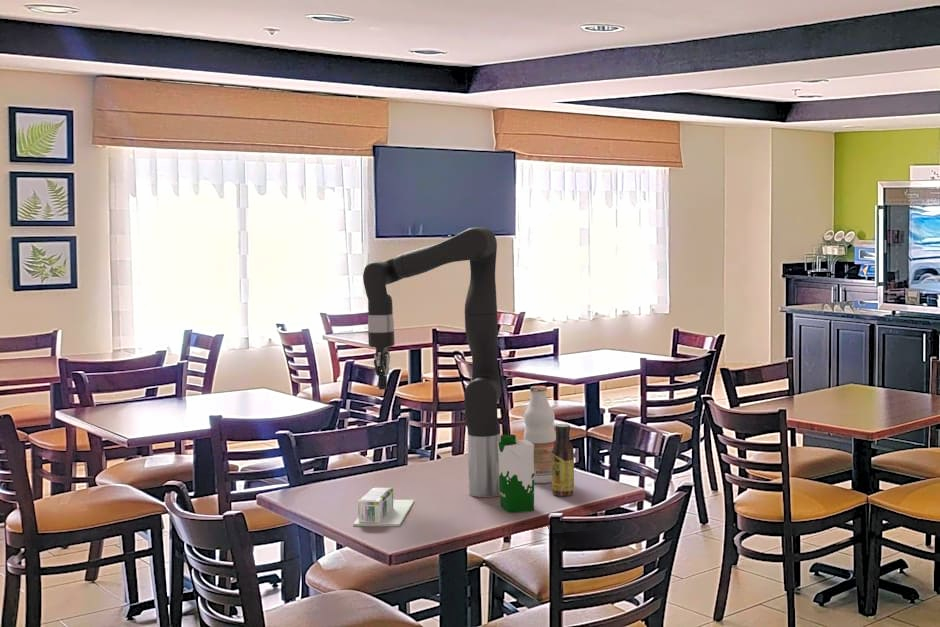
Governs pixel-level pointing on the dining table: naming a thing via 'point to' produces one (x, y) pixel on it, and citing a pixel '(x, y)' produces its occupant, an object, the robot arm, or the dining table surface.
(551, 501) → the dining table surface
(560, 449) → the sauce bottle
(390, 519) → the mat
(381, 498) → the syrup box
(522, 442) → the milk carton
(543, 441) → the fruit juice
